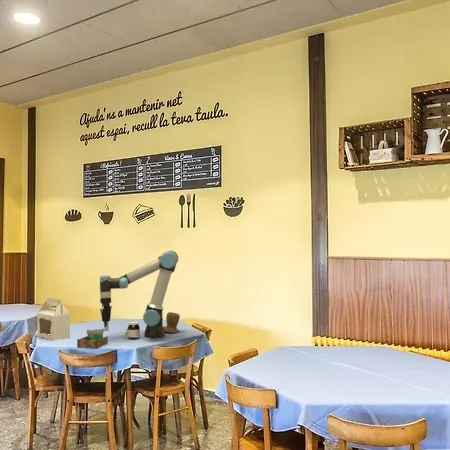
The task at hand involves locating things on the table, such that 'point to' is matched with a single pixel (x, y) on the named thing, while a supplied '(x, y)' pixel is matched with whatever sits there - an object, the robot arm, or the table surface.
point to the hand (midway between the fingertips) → (106, 330)
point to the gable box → (53, 321)
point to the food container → (95, 334)
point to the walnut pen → (91, 342)
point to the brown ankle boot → (172, 322)
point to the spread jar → (133, 330)
